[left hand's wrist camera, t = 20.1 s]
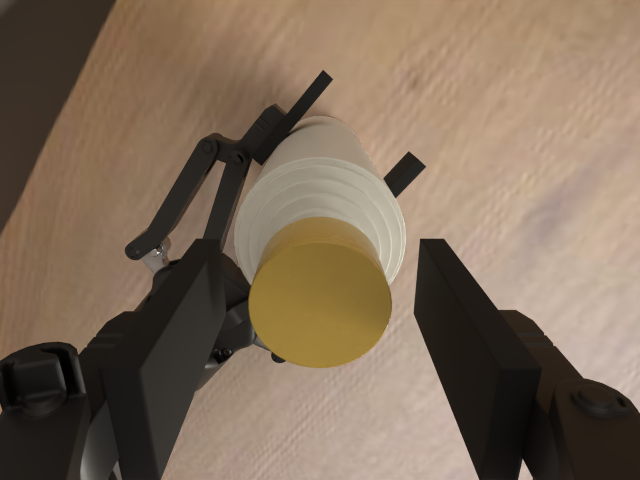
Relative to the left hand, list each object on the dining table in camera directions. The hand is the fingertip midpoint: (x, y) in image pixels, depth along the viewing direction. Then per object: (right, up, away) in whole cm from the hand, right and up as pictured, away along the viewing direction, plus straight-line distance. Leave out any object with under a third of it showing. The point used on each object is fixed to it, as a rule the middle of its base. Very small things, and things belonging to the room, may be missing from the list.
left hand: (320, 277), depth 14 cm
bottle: (0, +7, +20) cm, 21 cm away
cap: (0, -1, -2) cm, 2 cm away
